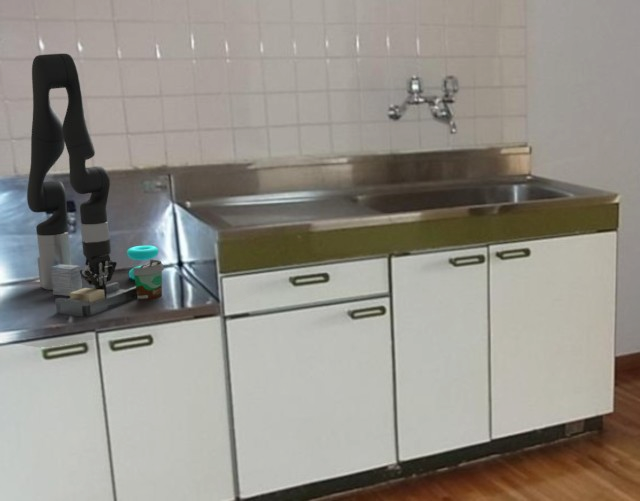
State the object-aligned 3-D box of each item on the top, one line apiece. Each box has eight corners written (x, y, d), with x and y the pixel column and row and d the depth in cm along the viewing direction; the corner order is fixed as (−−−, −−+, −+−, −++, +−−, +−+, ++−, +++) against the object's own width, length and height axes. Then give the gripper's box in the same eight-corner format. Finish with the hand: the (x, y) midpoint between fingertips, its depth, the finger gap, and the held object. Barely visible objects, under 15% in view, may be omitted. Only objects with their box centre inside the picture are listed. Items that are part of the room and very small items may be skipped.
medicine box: (83, 293, 225) (80, 265, 223) (72, 297, 221) (69, 268, 219) (63, 291, 228) (60, 263, 226) (52, 294, 224) (49, 267, 222)
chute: (56, 313, 204) (55, 299, 203) (115, 291, 225) (114, 279, 224) (87, 317, 199) (85, 302, 198) (144, 294, 220) (143, 281, 219)
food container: (155, 303, 211) (152, 268, 209) (135, 302, 212) (132, 268, 210) (172, 291, 223) (170, 259, 221) (153, 291, 224) (150, 259, 222)
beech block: (71, 306, 206) (69, 292, 205) (86, 301, 211) (85, 287, 210) (90, 309, 203) (88, 295, 202) (105, 303, 208) (104, 289, 207)
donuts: (152, 243, 247) (161, 248, 238) (155, 272, 249) (164, 278, 240) (123, 247, 242) (131, 252, 234) (125, 276, 244) (133, 282, 236)
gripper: (101, 233, 216) (107, 290, 219) (68, 242, 204) (74, 302, 207) (122, 234, 212) (127, 293, 216) (89, 243, 201) (95, 305, 204)
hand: (101, 297), depth 212 cm, fingers closed
